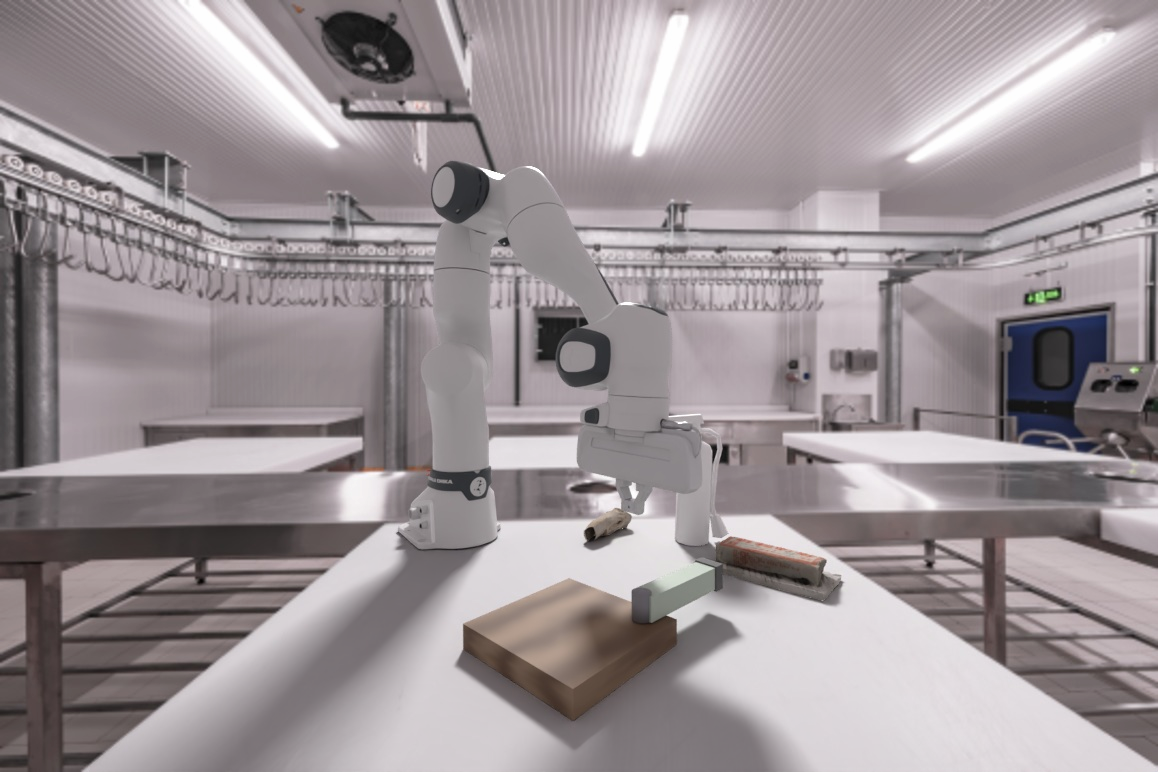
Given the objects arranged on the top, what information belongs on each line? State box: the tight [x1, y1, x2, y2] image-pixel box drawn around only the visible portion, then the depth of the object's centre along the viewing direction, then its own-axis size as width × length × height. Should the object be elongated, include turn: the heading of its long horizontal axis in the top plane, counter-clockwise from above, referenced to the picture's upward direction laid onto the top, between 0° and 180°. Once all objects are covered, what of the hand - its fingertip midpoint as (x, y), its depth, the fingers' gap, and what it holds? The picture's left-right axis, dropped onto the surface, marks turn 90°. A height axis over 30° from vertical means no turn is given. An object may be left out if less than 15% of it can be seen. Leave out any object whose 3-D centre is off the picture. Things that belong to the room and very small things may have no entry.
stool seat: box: [462, 577, 678, 722], centre depth 58 cm, size 18×18×3 cm
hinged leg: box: [631, 556, 724, 623], centre depth 63 cm, size 16×3×3 cm, turn 132°
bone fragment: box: [583, 507, 633, 542], centre depth 101 cm, size 14×6×5 cm, turn 144°
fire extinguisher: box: [669, 413, 729, 547], centre depth 96 cm, size 7×12×25 cm, turn 83°
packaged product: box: [714, 535, 842, 601], centre depth 80 cm, size 18×5×10 cm
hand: (632, 512), depth 70 cm, fingers closed
